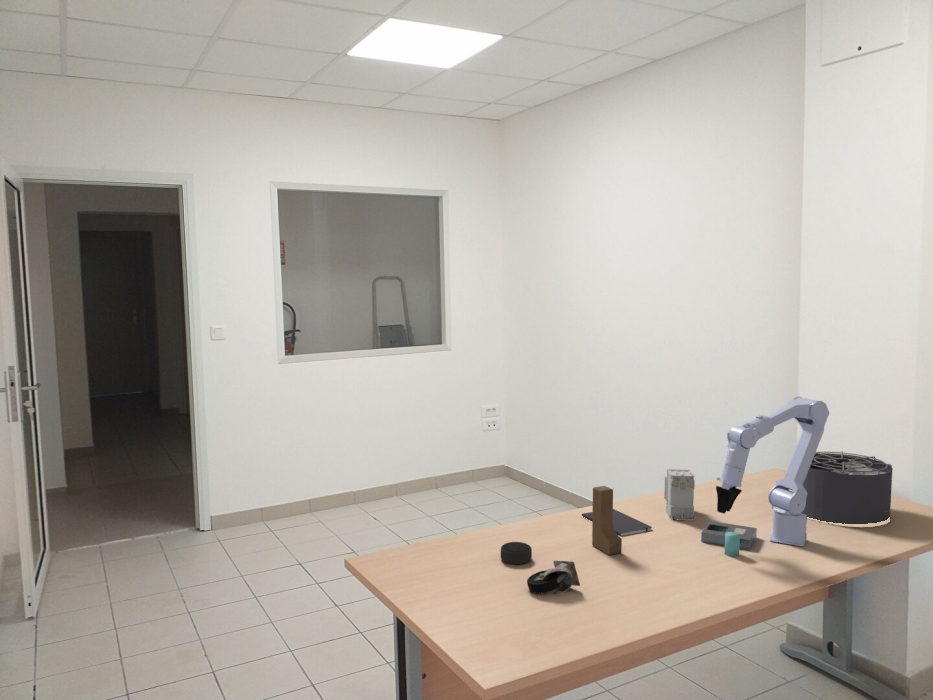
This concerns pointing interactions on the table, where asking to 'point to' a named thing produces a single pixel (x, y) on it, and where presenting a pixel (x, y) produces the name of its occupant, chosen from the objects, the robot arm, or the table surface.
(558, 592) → the caster wheel
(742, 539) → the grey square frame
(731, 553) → the barrel peg
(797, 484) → the robot arm
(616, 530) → the notebook
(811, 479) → the ventilation fan
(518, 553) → the smart speaker
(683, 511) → the circuit breaker
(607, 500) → the wooden block
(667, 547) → the table surface
